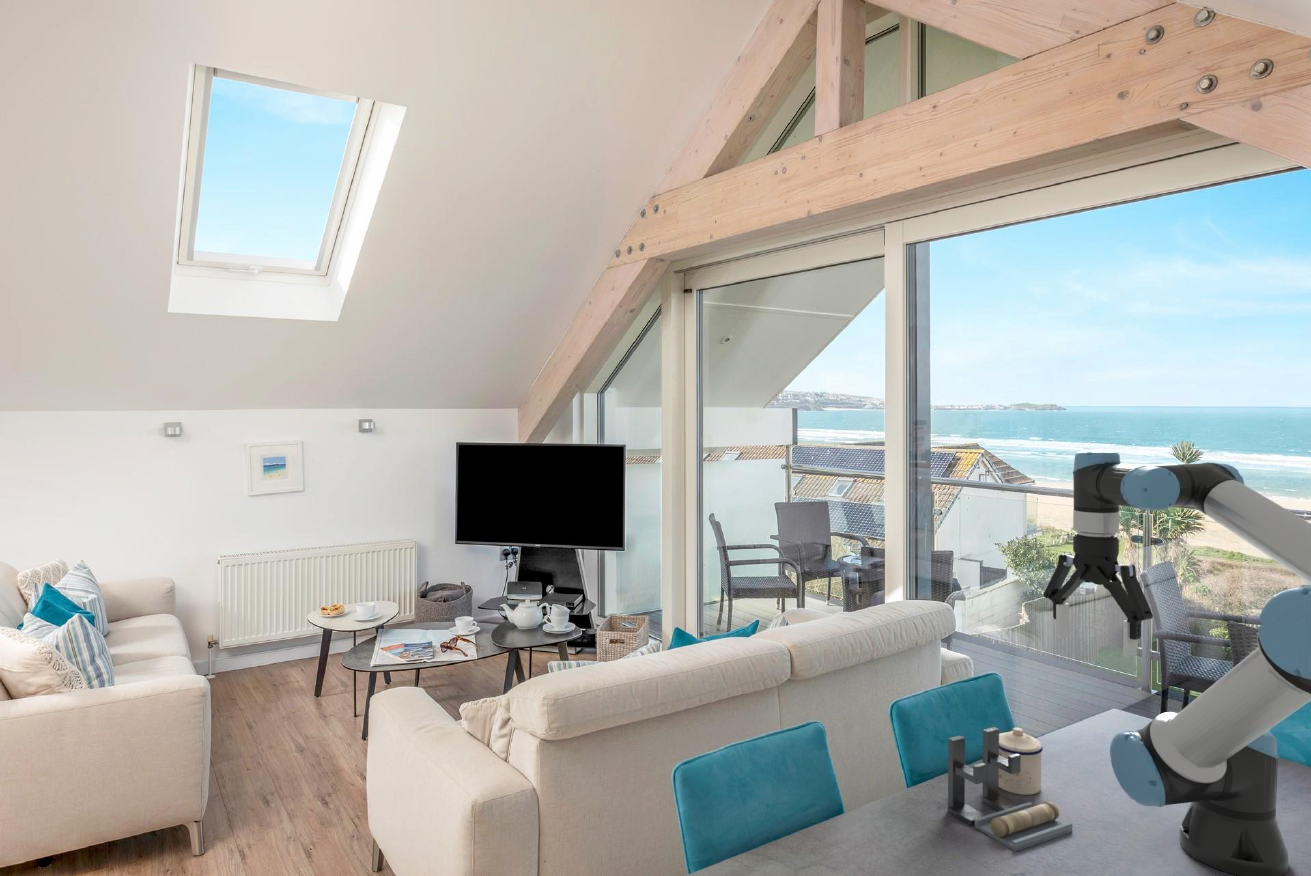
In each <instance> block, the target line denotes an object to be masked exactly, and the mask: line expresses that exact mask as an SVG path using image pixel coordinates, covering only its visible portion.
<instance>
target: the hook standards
mask: <svg viewBox="0 0 1311 876" xmlns="http://www.w3.org/2000/svg"><path fill="white" fill-rule="evenodd" d="M999 734H1000V729H999V728H997V727H995V726H993V727H988V728H984V729H982V762H981V763H977V764H973V765H972V767H971V766H968V765H967V764H966V760H965V759H966V737H964V736H962V735H956V736H953V737H949V738H948V740H947V741H948V743H947V745H948V747H947V749H948V751H947V752H948V753H947V757H948V760H947V762H948V763H947V776H948V777H947V813H948V814H949V815H951V816H954V818H957V819H958V820H960V821H962V822H963V823H965V824H966V825H968V826H970V827H972V826H975V819H977V818H980V817H983V816H986V815H987V814H985V813H983V812H981V811H979V810H977V809H975V808H974V807H972V806H970V805H969V804H966V802H965V800H966V798H965V794H966V792H965V791H966V789H965V788H966V787H965V786H966V785H965V784H966V780H967V781H969V782H971V783H973V784H975V785H979V784H982V797H981V799H982V803H983V804H985V805H986V806H989V807H990V808H992V809H995V810H997V812H999V811H1002V810H1006V809H1009V808H1012V807H1015V806H1018V805H1021V804H1020V803H1018V802H1016V801H1015V800H1012V799H1010V798H1008V797H1006V796H1005V795H1003V794H1001V793H999V791H1000V790H999V789H1000V787H999V768H1000V769H1002V770H1004V771H1006V772H1008V773H1010V774H1014V773H1018V772H1021V755H1019V754H1013V755H1010V756H1008V759H1006V758H1004V757H1001V756H999Z"/></svg>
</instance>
